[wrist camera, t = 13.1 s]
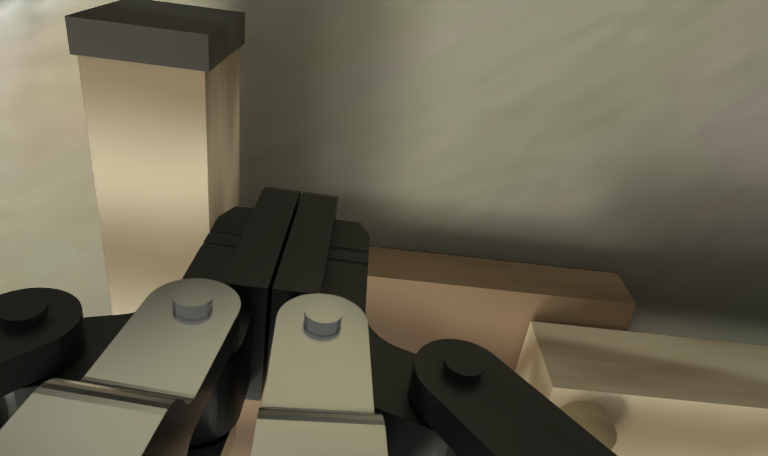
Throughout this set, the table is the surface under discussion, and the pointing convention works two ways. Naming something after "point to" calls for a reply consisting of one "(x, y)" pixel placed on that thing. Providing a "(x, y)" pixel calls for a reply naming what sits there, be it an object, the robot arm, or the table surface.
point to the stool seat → (572, 352)
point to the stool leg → (158, 133)
